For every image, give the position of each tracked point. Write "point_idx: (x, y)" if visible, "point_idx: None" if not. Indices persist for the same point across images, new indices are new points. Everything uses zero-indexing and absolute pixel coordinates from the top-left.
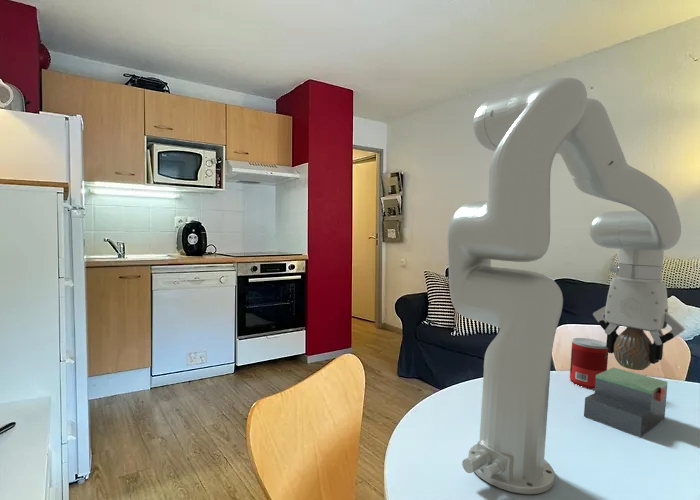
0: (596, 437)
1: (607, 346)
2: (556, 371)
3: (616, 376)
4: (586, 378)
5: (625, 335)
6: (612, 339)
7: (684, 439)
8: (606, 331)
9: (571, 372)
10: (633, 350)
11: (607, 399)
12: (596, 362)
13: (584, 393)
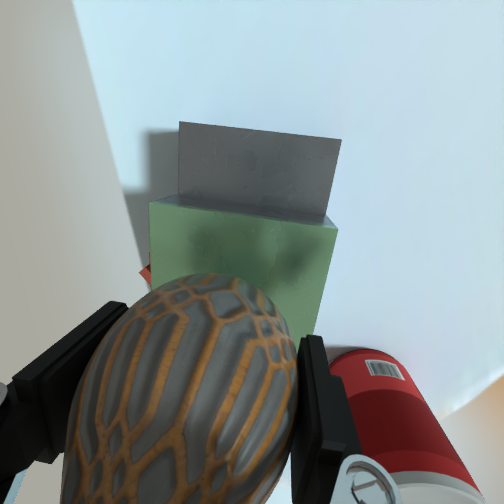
0: (273, 16)
1: (334, 377)
2: (446, 411)
3: (273, 275)
4: (369, 367)
5: (200, 433)
6: (312, 408)
7: (142, 209)
8: (383, 493)
9: (413, 383)
10: (162, 304)
11: (283, 189)
12: (363, 419)
13: (357, 311)
